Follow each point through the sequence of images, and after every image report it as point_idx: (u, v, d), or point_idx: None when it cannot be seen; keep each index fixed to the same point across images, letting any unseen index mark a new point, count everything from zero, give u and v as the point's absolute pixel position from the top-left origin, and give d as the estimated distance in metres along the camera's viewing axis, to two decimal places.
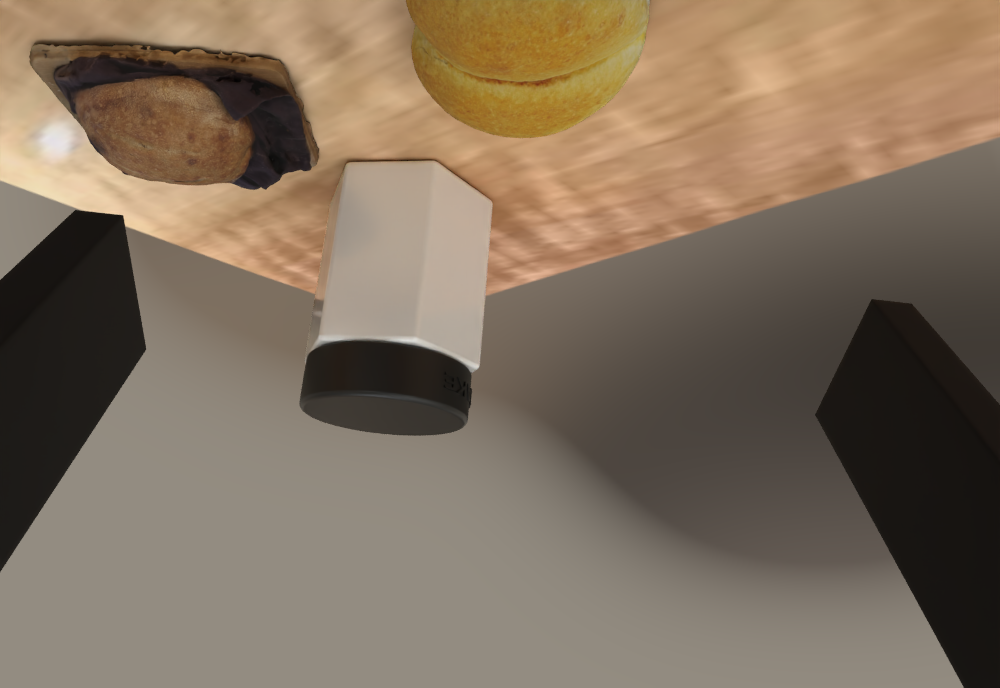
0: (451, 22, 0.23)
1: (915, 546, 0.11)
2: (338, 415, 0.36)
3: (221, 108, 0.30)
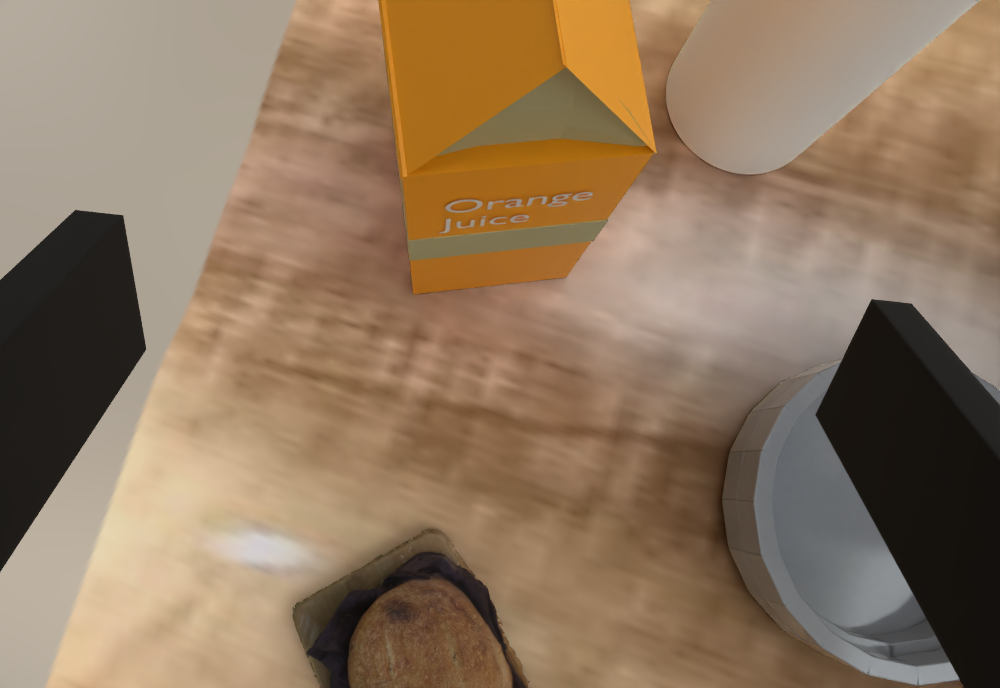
0: None
1: (915, 546, 0.11)
2: None
3: None
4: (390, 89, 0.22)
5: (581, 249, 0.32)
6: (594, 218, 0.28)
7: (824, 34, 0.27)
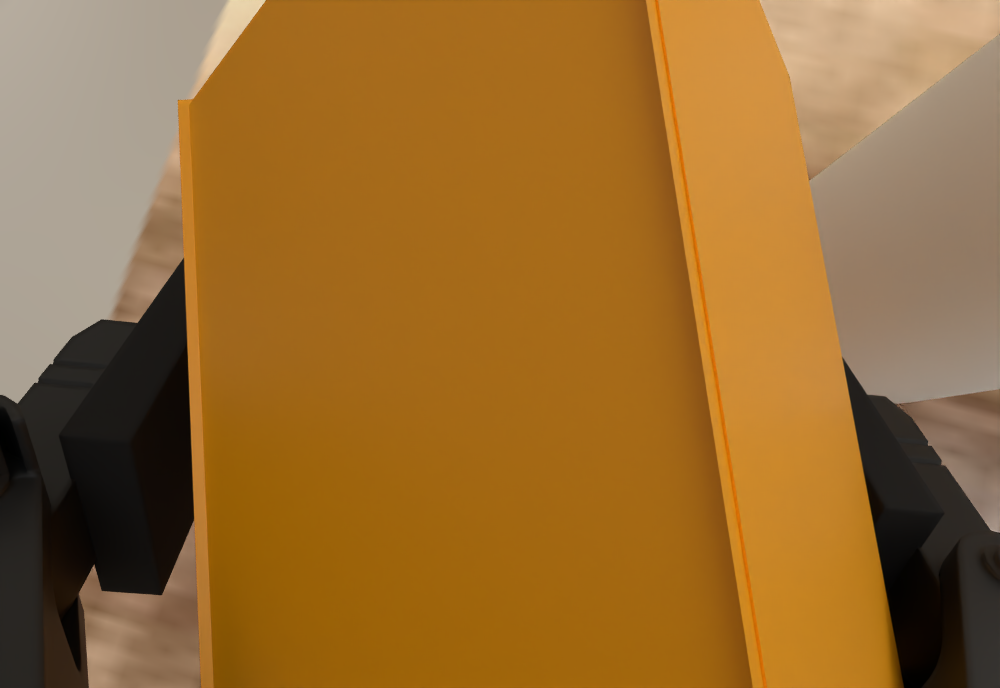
0: None
1: None
2: None
3: None
4: None
5: None
6: None
7: None
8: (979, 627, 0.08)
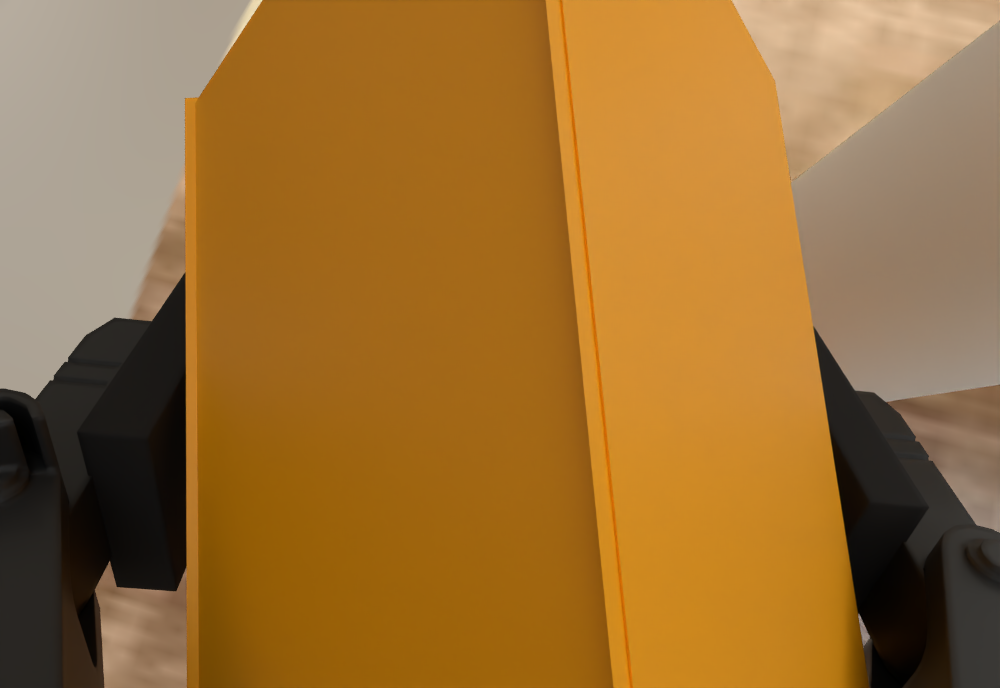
0: None
1: None
2: None
3: None
4: None
5: None
6: None
7: None
8: (963, 621, 0.08)
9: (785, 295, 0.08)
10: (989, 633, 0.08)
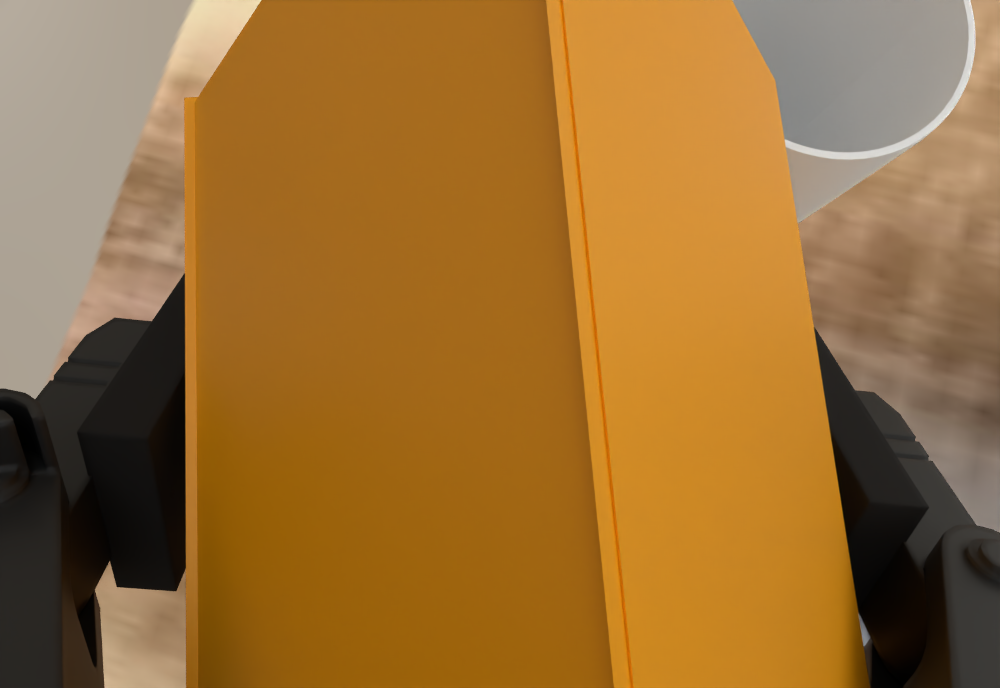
0: None
1: None
2: None
3: None
4: None
5: None
6: None
7: None
8: (963, 621, 0.08)
9: (786, 295, 0.08)
10: (988, 633, 0.08)
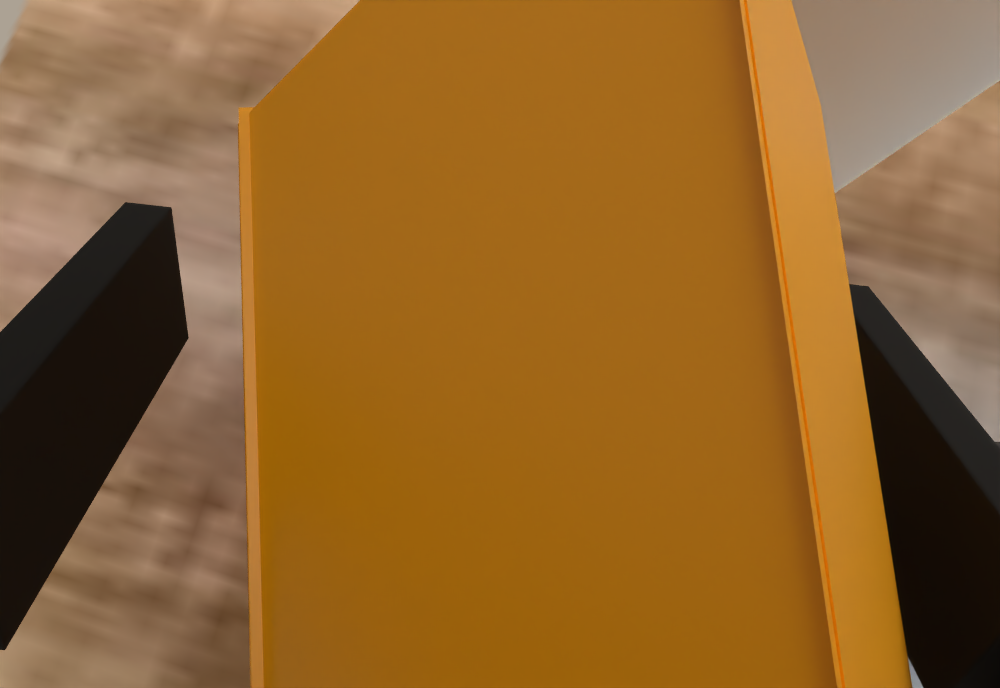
0: None
1: None
2: None
3: None
4: (250, 599, 0.08)
5: None
6: None
7: (878, 12, 0.14)
8: None
9: (847, 320, 0.08)
10: None
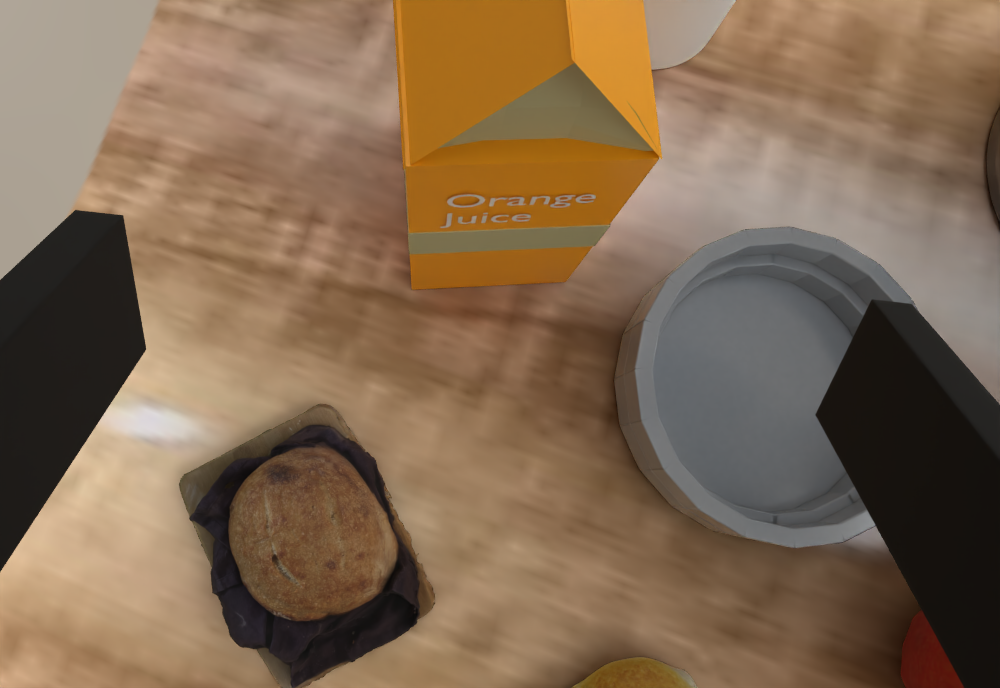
0: None
1: (915, 546, 0.11)
2: None
3: (388, 572, 0.31)
4: (398, 78, 0.22)
5: (582, 254, 0.32)
6: (596, 222, 0.28)
7: None
8: None
9: None
10: None
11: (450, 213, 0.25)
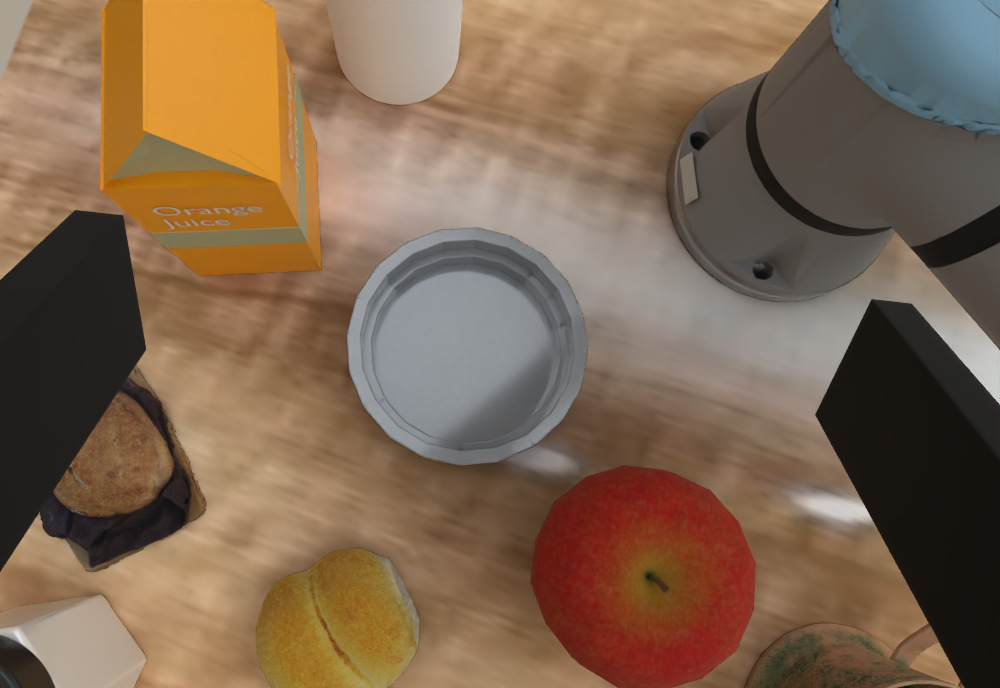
0: (355, 577, 0.41)
1: (915, 546, 0.11)
2: None
3: (162, 483, 0.43)
4: None
5: (306, 248, 0.43)
6: (286, 225, 0.39)
7: None
8: None
9: (250, 58, 0.33)
10: None
11: (165, 219, 0.36)
